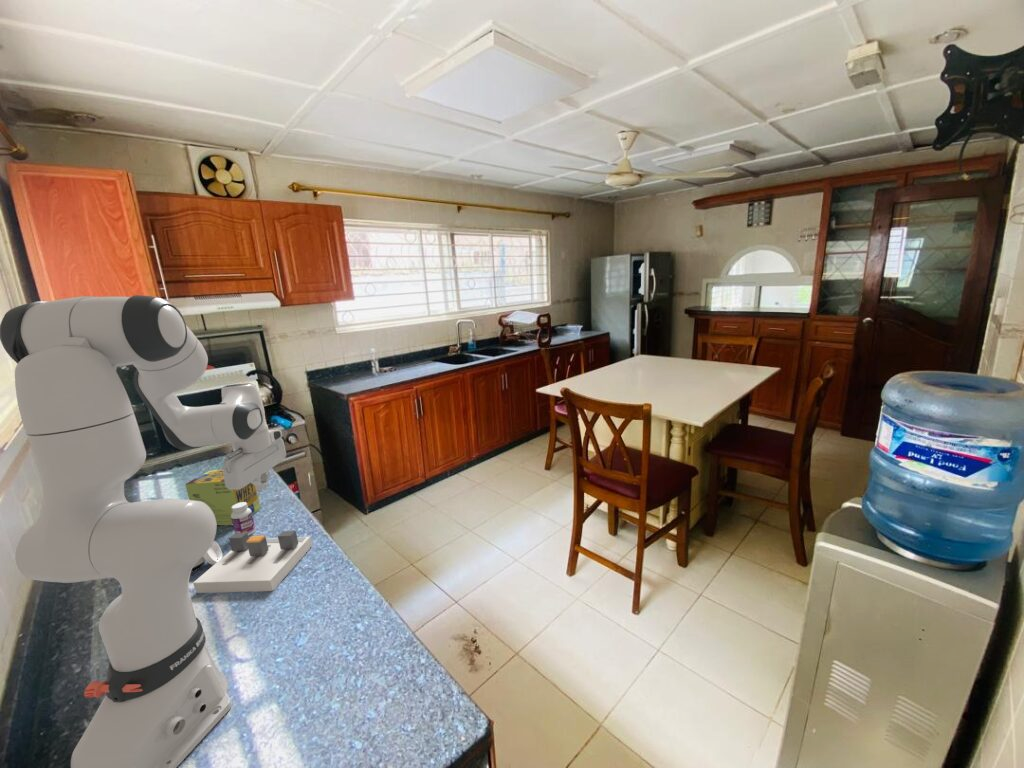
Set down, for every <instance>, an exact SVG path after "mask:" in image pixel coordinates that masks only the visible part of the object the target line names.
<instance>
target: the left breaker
mask: <svg viewBox="0 0 1024 768" xmlns="http://www.w3.org/2000/svg"><path fill="white" fill-rule="evenodd" d="M249 538H250V536H248V533H235V532H234V533H233V534H232V535H230V536H229V537H228V540H229V546H230V549H231V550H232V551H245V550H246V549H247V548H248V546H247V542H246V541H247V540H248V539H249Z"/></svg>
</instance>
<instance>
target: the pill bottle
mask: <svg viewBox="0 0 1024 768" xmlns="http://www.w3.org/2000/svg"><path fill="white" fill-rule="evenodd" d="M247 507H248V505H247V503H246V502H241V503H237V504H235V505H233V506H232V511H233V513H232V514H231V520H232V524H233V525H232V527H233V531H234V534H235V533H248V535H249V536H250V535H251V536H252V535H253V534H254V533H255V531H256V525H255V520H254V515H252V511H251V509H250V508H247Z"/></svg>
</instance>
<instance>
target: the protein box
mask: <svg viewBox="0 0 1024 768" xmlns="http://www.w3.org/2000/svg"><path fill="white" fill-rule="evenodd" d="M184 484H185V485H184V486H185V488H186V492H187V495H188V500H194V501H201V502H204V503H205V504H207V505H208V506H209V507H210V509H211V510H212V511H213V513H214V515H215V519H216V524H217V525H225V526H231V525H230V524H232V520H231V514H232V513H233V511H232V506H233V505H235V504H237V503H241V502H246V503H247V505H248V507H247V508H250V509H251V511H252V516H254V515H255V514H256V513H257V512H258V511H260V510H261V509H262V507H261V503H260V500H259V495H258V491H256V488H255V486H254V485H253V484H252V483H251V482H250V483H249V484H247V485H246V486H244V487H243V488H241V489H236V490H229V489H228V488H226V486H225V481H224V473H223V469H216V470H215V469H213V470H211V469H210V470H208V471H206V472H204V473H203V474H201V475H199V476H197V477H195V478H194V479H191V480H189V482H186V483H184ZM260 508H261V509H260ZM254 513H255V514H254ZM228 524H229V525H228Z"/></svg>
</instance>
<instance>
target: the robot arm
mask: <svg viewBox="0 0 1024 768" xmlns="http://www.w3.org/2000/svg"><path fill="white" fill-rule="evenodd" d="M2 317H3V318H2V320H1V322H0V343H1V345H2V347H3V349H4V351H5V352H6V353H7V355H8V356H9V357H10V358H11V359H12V360H13V361H14V363H16V367H15V369H14V383H15V385H14V387H15V394H16V400H17V401H16V402H17V407H18V411H19V414H20V419H21V422H22V425H23V429H24V430H25V434H26V436H27V440H28V442H29V444H30V448H31V451H32V453H33V456H34V460H35V464H36V466H37V468H38V473H39V476H40V478H41V482H42V504H41V510H40V512H39V515H38V517H37V519H36V521H35V522H34V523H33V524H32V525H30V527H29V528H27V530H25V532H24V533H23V534H22V536H21V537H20V539H19V541H18V543H17V546H16V549H15V557H14V558H15V559H14V560H15V565H16V567H17V569H18V571H19V572H20V574H21V575H22V576H24V577H25V578H28V579H29V580H34V581H40V582H48V583H50V582H51V583H62V584H69V583H81V582H89V581H96V580H105V579H115V580H116V581H117V582H118V583H119V584H120V587H121V588H120V589H121V593H120V594H119V595H118V596H117V597H116V598H115V599H113V600H112V601H111V602H110V604H108V606H107V607H106V608H105V610H104V612H103V614H102V615H101V617H100V618H99V623H98V631H99V632H98V633H99V634H100V637H101V640H102V643H103V645H104V649H105V652H106V654H107V656H108V659H109V663H108V669H107V676H106V680H104V681H100V680H99V681H97V680H94V681H92V682H90V683H88V684H87V686H86V687H85V689H84V692H83V694H84V695H83V696H84V697H85V698H86V699H87V698H89V699H90V698H101V697H102V696H104V695H105V696H104V697H103V699H102V701H101V703H100V705H99V706H98V708H97V710H96V711H95V713H94V715H93V717H92V718H91V720H90V722H89V724H88V726H87V727H86V729H85V730H84V733H83V734H82V736H81V737H80V739H79V741H78V742H77V745H76V746H75V748H74V750H73V751H72V754H71V757H70V768H177V767H178V766H179V765H180V764H181V763H182V762H184V759H186V758H187V756H188V755H189V754H191V753H192V751H193V750H194V749H195V748H196V747H197V746H198V744H200V742H201V741H202V740H203V739H204V738H205V737H206V736H207V735H208V734H209V733H210V732H211V730H212V729H213V728H214V727H215V726H216V725H217V724H218V722H220V721H221V719H222V718H224V716H226V714H227V712H229V711H230V709H231V708H232V706H233V705H232V704H233V702H232V700H231V698H230V696H229V695H228V689H229V683H228V682H229V681H228V679H227V677H226V676H225V674H223V672H222V671H221V670H220V669H219V668H218V667H217V665H216V664H215V662H214V661H213V659H212V656H211V655H210V653H209V649H208V648H207V646H206V641H207V639H206V635H205V631H204V628H203V625H202V623H201V620H200V619H199V618H198V617H197V615H196V613H195V610H194V606H193V601H192V597H191V592H190V577H191V574H192V572H191V570H192V568H193V566H194V565H195V563H196V562H197V561H198V560H199V559H200V558H202V557H203V556H204V554H205V553H206V552H207V551H208V550H209V548H210V546H211V545H212V543H213V541H215V538H216V534H217V529H218V526H217V524H216V519H215V515H214V513H213V511H212V510H211V509H210V507H209V506H208V505H207V504H205V503H204V502H201V501H194V500H189V499H183V498H161V499H153V500H141V501H136V502H135V501H133V502H129V501H128V499H126V496H125V482H126V481H127V480H129V479H131V478H132V477H133V476H134V475H135V474H136V473H138V471H139V470H140V469H141V468H142V467H143V466H144V464H145V461H146V459H147V451H146V447H145V444H144V441H143V438H142V437H143V436H142V434H141V430H140V427H139V424H138V421H137V418H136V415H135V412H134V409H133V406H132V403H131V400H130V398H129V395H128V393H127V391H126V388H125V385H124V384H123V382H122V380H121V378H120V376H119V374H118V372H117V369H118V367H125V366H130V365H133V366H134V368H136V370H135V372H134V375H133V378H132V379H133V385H134V388H135V391H136V392H137V394H138V396H139V397H140V399H141V400H142V402H143V403H144V405H145V406H146V407H147V409H148V411H150V413H151V414H152V416H153V417H154V419H155V420H156V421H157V423H158V424H159V426H161V429H162V431H163V435H164V437H165V439H166V441H167V442H168V443H169V444H170V445H172V446H173V447H175V448H176V449H178V450H180V451H188V450H193V449H198V448H202V447H207V446H216V445H223V444H228V443H229V444H230V443H231V446H232V450H233V451H232V452H230V453H228V454H227V455H226V457H225V458H224V461H223V465H222V466H223V467H222V470H223V473H224V481H225V486H226V488H228V489H229V490H236V489H241V488H243V487H244V486H246V485H247V484H249V483H250V482H251V483H252V484H253V485H254V486H255V488H256V491H257V492H263V491H265V489H266V488H268V487H269V486H270V484H269V480H270V479H269V478H270V473H271V472H270V470H271V469H272V468H274V467H276V466H277V465H278V464H280V463H281V462H283V461H284V460H285V459H286V457H287V451H286V445H285V442H284V439H283V438H282V437H283V431H282V430H281V429H269V426H268V424H267V422H266V420H265V413H266V411H265V408H264V404H263V401H262V398H261V397H262V396H261V395H260V392H259V390H258V388H257V386H256V384H253V383H250V382H249V383H248V382H246V383H237V384H228V385H224V386H222V387H221V402H219V404H212V405H203V406H187V405H183V404H182V403H181V401H180V400H179V398H178V395H176V392H177V393H178V392H179V391H183V390H185V389H188V388H189V387H191V386H192V385H194V384H195V383H197V382H198V381H199V380H200V379H201V377H202V376H203V375H204V374H205V372H206V370H207V368H208V362H209V358H208V354H207V351H206V350H205V347H204V346H203V344H202V343H201V341H200V340H199V339H198V338H197V336H196V335H195V334H194V332H193V331H192V330H191V328H189V326H188V325H187V324H186V322H185V318H184V316H183V315H182V313H181V312H180V310H179V309H178V308H177V307H176V306H175V305H173V304H172V303H170V302H169V301H167V300H166V299H164V298H161V297H158V296H153V295H152V296H151V295H143V294H142V295H140V294H138V295H132V296H92V295H90V296H89V295H88V296H77V297H70V298H69V297H68V298H62V299H55V300H49V301H45V300H38V301H33V302H28V303H24V304H22V305H18V306H16V307H13V308H11V309H9V310H8V311H6V313H5V314H4V315H3V316H2Z"/></svg>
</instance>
